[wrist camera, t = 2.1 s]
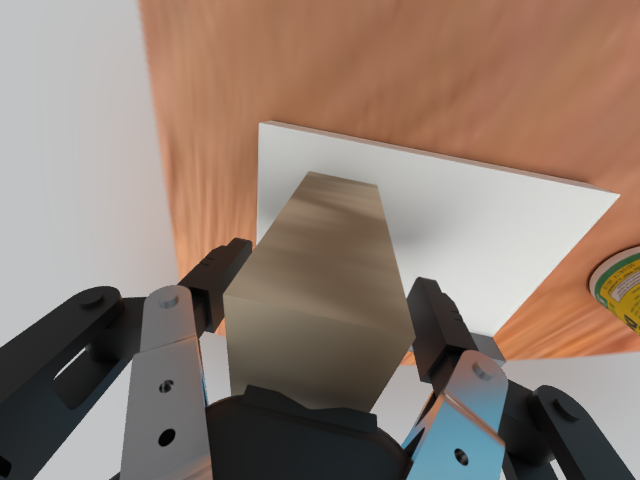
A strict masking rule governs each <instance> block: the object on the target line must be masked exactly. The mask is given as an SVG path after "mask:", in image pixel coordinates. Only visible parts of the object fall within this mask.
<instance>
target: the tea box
mask: <svg viewBox="0 0 640 480" xmlns="http://www.w3.org/2000/svg"><path fill="white" fill-rule="evenodd" d="M223 303H224V315H225V327H226V339H227V350H228V362H229V373H230V386H231V396H235V395H242V394H244V392H245V389H246V387H247V384H248V385H253V386H257V387H261V388H265V389H270V390H274V391H278V392H280V393H282V394H284V395H285V396H287V397H289V398H291V399H292V400H294V401H296V402H298V403H299V404H301V405H303V406H305V407H306V408H308V409H324V408H339V407H346V408H350V409H354V410H359V411H363V412H367V413H369V412H370V411H371V409H372V407H373V406H374V404H375V403H376V401H377V399H378V398H379V396H380V395H381V393H382V391H383V390H384V388H385V387H386V385H387V383H388V382H389V380H390V379H391V377H392V375H393V374H394V372H395V371H396V369H397V367H398V366H399V364H400V363H401V361H402V359H403V358H404V356H405V355H406V353H407V351H408V350H409V348H410V346H411V345H412V343H413V342H414V340H415V338H416V336H415V332H414V328H413V324H412V320H411V316H410V312H409V308H408V304H407V301H406V297H405V293H404V289H403V285H402V281H401V277H400V273H399V269H398V265H397V261H396V257H395V253H394V249H393V245H392V241H391V237H390V234H389V230H388V226H387V222H386V218H385V214H384V210H383V206H382V202H381V198H380V194H379V190H378V186H377V185H374V184H369V183H365V182H360V181H355V180H350V179H345V178H340V177H335V176H330V175H325V174H320V173H316V172H311V171H308V173H307V174H306V176H305V177H304V179H303V180H302V181H301V183H300V184H299V186H298V187H297V189H296V190H295V192H294V193H293V194H292V196H291V197H290V199H289V200H288V202H287V203H286V204H285V206H284V207H283V209H282V210H281V212H280V213H279V215H278V216H277V217H276V219H275V220H274V222H273V223H272V225H271V226H270V227H269V229H268V230H267V232H266V233H265V235H264V236H263V238H262V239H261V240H260V242H259V243H258V245H257V246H256V248H255V249H254V250H253V252H252V253H251V255H250V256H249V258H248V259H247V261H246V262H245V263H244V265H243V266H242V268H241V269H240V271H239V272H238V273H237V275H236V276H235V278H234V279H233V281H232V282H231V284H230V285H229V286H228V288H227V289H226V291H225V292H224V294H223Z"/></svg>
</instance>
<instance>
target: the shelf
mask: <svg viewBox="0 0 640 480" xmlns="http://www.w3.org/2000/svg"><path fill="white" fill-rule="evenodd" d="M308 171H311V172H316V173H320V174H325V175H330V176H335V177H340V178H345V179H350V180H355V181H360V182H365V183H369V184H374V185H377V186H378V190H379V194H380V198H381V202H382V206H383V210H384V214H385V218H386V222H387V226H388V230H389V234H390V237H391V241H392V245H393V249H394V253H395V257H396V261H397V265H398V269H399V273H400V277H401V281H402V285H403V289H404V293H405V297H406V298H407V296H408V294H409V292H410V290H411V288H412V286H413V284H414V282H415V280H416V278H417V277H423V278H428V279H433V280H436V281H437V282H438V285H439V287H440V289H441V291H442V293H446V294H447V295H448V296H449V297H450V298H451V299H452V300H453V301H454V302H455V304H456V306H457V308H458V310H459V314H461V316H462V318H463V322H465V324H466V326H467V328H468V330H469V332H470V334H471V336H472V338H473V340H474V342H475V344H476V346H477V348H478V350H479V352H481V353H483V354H485V355H486V356H488V357H490V358H491V359H492V360H493V361H495V362H496V363H497V364H498V365H499V366H500V367H501V366H503V364H504V363H506V360H505V358H504V357H503V355H502V353H501V351H500V350H499V348H498V346H497V345H496V343H495V341H494V339H493V338H492V337H493V336H494V335H495V333H496V332H497V331H498V330H499V329H500V328H501V327H502V326H503V325H504V324H505V322H506V321H507V320H508V319H509V318H510V317H511V316H512V315H513V314H514V312H515V311H516V310H517V309H518V308H519V307H520V306H521V305H522V304H523V303H524V301H525V300H526V299H527V298H528V297H529V296H530V295H531V294H532V293H533V291H534V290H535V289H536V288H537V287H538V286H539V285H540V284H541V283H542V282H543V280H544V279H545V278H546V277H547V276H548V275H549V274H550V273H551V272H552V271H553V269H554V268H555V267H556V266H557V265H558V264H559V263H560V262H561V261H562V259H563V258H564V257H565V256H566V255H567V254H568V253H569V252H570V251H571V250H572V248H573V247H574V246H575V245H576V244H577V243H578V242H579V241H580V240H581V238H582V237H583V236H584V235H585V234H586V233H587V232H588V231H589V230H590V229H591V227H592V226H593V225H594V224H595V223H596V222H597V221H598V220H599V219H600V218H601V216H602V215H603V214H604V213H605V212H606V211H607V210H608V209H609V208H610V206H611V205H612V204H613V203H614V202H615V201H616V200H617V199H618V198H619V197H620V194H617V193H614V192H612V191H609V190H606V189H603V188H600V187H597V186H594V185H591V184H589V183H584V182H579V181H574V180H569V179H564V178H559V177H554V176H549V175H544V174H539V173H534V172H529V171H524V170H519V169H514V168H509V167H504V166H499V165H494V164H489V163H484V162H479V161H474V160H469V159H464V158H459V157H453V156H448V155H443V154H438V153H433V152H428V151H423V150H418V149H413V148H408V147H403V146H398V145H393V144H388V143H383V142H378V141H373V140H368V139H363V138H358V137H353V136H348V135H343V134H338V133H333V132H328V131H323V130H318V129H312V128H307V127H302V126H297V125H292V124H287V123H282V122H277V121H272V120H269V121H265V122H260V123H259V145H258V194H257V243H256V246H257V245H258V243H259V242H260V240H261V239H262V238H263V236H264V235H265V233H266V232H267V230H268V229H269V227H270V226H271V225H272V223H273V222H274V220H275V219H276V217H277V216H278V215H279V213H280V212H281V210H282V209H283V207H284V206H285V204H286V203H287V202H288V200H289V199H290V197H291V196H292V194H293V193H294V192H295V190H296V189H297V187H298V186H299V184H300V183H301V181H302V180H303V179H304V177H305V176H306V174H307V173H308ZM408 351H411V352H413V347H412V345H411V346H410V348H409V350H408Z"/></svg>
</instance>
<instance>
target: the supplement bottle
mask: <svg viewBox="0 0 640 480" xmlns="http://www.w3.org/2000/svg"><path fill="white" fill-rule="evenodd" d="M589 286H590V292H591V294H592V296H593V297H594V298H595V299H596V300H597V301H598V302H600V303H601V304H602V305H603V306H604V307H606V308H607V309H608V310H609V311H611V312H612V313H613V314H614V315H615V316H617V317H618V318H619V319H620V320H621V321H623V322H624V323H625V324H626V325H628V326H629V327H630V328H631V329H632V330H634V331H635V332H636V333H637V334H638V335H640V246H639V247H635V248H631V249H628V250H625V251H623V252H620V253H618V254H616V255H614V256H612V257H611V258H609V259H608V260H606V261H605V262H604V263H603V264H601V265H600V266H599V267H598V268H597V269H596V271H595V272H594V273H593V275H592V277H591V279H590V283H589Z"/></svg>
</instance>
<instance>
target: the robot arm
mask: <svg viewBox="0 0 640 480" xmlns="http://www.w3.org/2000/svg"><path fill="white" fill-rule="evenodd" d="M251 253H252V242H251V241H250V240H245V239H240V238H234V239H233V240H232V241H231V242H230V243H229V244H228V245H227V246H223V245H222V246H220V247H218V248H216V249H214V250H212V251H211V252H210V253H209V254H208V255H207V256H206V257H205V258H204V259H203V260H202V261H201V262H200V263H199V264H198V265H196V266H195V267H194V268H193V269H192V270H191V271H190V272H189V273H188V274H187V275H186V276H185V277H184V278H183V279H182V280H181V281H180V282H179V283H178V284H177V285H171V286H166V287H162V288H160V289H158V290H156V291H154V292H152V293H151V294H150V295H149V296H148V297H135V298H122V297H121V294H120V292H119V290H118V289H116V288H114V287H110V286H100V287H94V288H91V289H87V290H84V291H82V292H80V293H78V294H76V295H74V296H72V297H71V298H70V299H68V300H67V301H66V302H64V303H63V304H61V305H60V306H58V307H57V308H55V309H54V310H53V311H51V312H50V313H49V314H47V315H46V316H45V317H43V318H41V319H40V320H39V321H37V322H36V323H35V324H33V325H32V326H30V327H29V328H27V329H26V330H25V331H23V332H22V333H21V334H19V335H18V336H16V337H15V338H13V339H12V340H11V341H9V342H8V343H6V344H5V345H4V346H2V347H1V348H0V480H33V479H34V477H35V476H36V475H37V474H38V473H39V471H40V470H41V469H42V468H43V467H44V465H45V464H46V463H47V461H48V460H49V459H50V458H51V457H52V456H53V454H54V453H55V452H56V451H57V449H58V448H59V447H60V446H61V445H62V443H63V442H64V441H65V440H66V438H67V437H68V436H69V435H70V434H71V432H72V431H73V430H74V429H75V428H76V426H77V425H78V424H79V423H80V422H81V420H82V419H83V418H84V417H85V415H86V414H87V413H88V412H89V410H90V409H91V408H92V407H93V406H94V404H95V403H96V402H97V401H98V400H99V398H100V397H101V396H102V395H103V394H104V392H105V391H106V390H107V389H108V387H109V386H110V385H111V384H112V383H113V381H114V380H115V379H116V378H117V377H118V375H119V374H120V373H121V371H122V370H123V369H124V368H125V367H126V366H127V364H128V363H129V362H130V361H131V360H132V358H133V361H132V368H131V377H130V386H129V396H128V405H127V414H126V424H125V433H124V443H123V451H122V461H121V471H120V472H119V473H117V474H116V475H115V476H113V477H112V478H111V479H109V480H499V478H500V473H501V468H502V469H503V472H504V474H505V477H506V480H558V478H557V477H556V474H555V472H554V470H553V468H552V466H551V464H550V461H552V460H554V459H556V460H557V462H558V464H559V466H560V467H561V469H562V471H563V473H564V475H565V477H566V479H567V480H636V479H635V478H634V476H633V475H632V474H631V472H630V471H629V470H628V468H627V467H626V465H625V464H624V462H623V461H622V460H621V458H620V457H619V455H618V454H617V453H616V451H615V450H614V448H613V447H612V446H611V444H610V443H609V441H608V440H607V439H606V437H605V436H604V434H603V433H602V432H601V430H600V429H599V427H598V426H597V425H596V423H595V422H594V421H593V419H592V418H591V416H590V415H589V414H588V413H587V411H586V410H585V409H584V408H583V407H582V406H581V405H580V404H579V403H578V402H576V401H575V400H574V399H573V398H572V397H570V396H569V395H567V394H566V393H564V392H563V391H561V390H559V389H557V388H555V387H552V386H548V385H542V386H540V387H539V388H537V389H536V390H535V391H534V392H533V391H531V390H529V389H527V388H525V387H523V386H521V385H519V384H517V383H515V382H513V381H511V380H509V379H507V377H506V375H505V373H504V372H503V370H502V369H501V368H500V366H499V365H498V364H497V363H496V362H495V361H493V360H492V359H491V358H490V357H488V356H486V355H485V354H483V353H481V352H479V350H478V348H477V346H476V344H475V342H474V340H473V338H472V336H471V334H470V332H469V330H468V328H467V326H466V324H465V322H463V318H462V316H461V314H459V310H458V308H457V306H456V304H455V302H454V301H453V300H452V299H451V298H450V297H449V296H448V295H447V294H446V293H442V291H441V289H440V287H439V285H438V282H437V281H436V280H433V279H428V278H423V277H417V278H416V280H415V282H414V284H413V286H412V288H411V290H410V292H409V294H408V296H407V298H406V301H407V304H408V308H409V312H410V316H411V320H412V324H413V328H414V332H415V336H416V338H415V340H414V342H413V343H412V347H413V352H414V356H415V360H416V364H417V368H418V372H419V377H420V381H422V382H426V383H430V384H432V386H433V391H432V393H431V394H430V396H429V398H428V400H427V402H426V403H425V405H424V407H423V409H422V411H421V413H420V414H419V416H418V418H417V420H416V422H415V424H414V426H413V427H412V429H411V431H410V433H409V434H408V436H407V437H406V439H405V441H404V442H403V443H402V445H401V446H400V445H399V444H398V443H397V442H396V441H395V440H394V439H393V438H392V437H391V436H390V435H389V434H387V433H386V432H385V431H383V430H382V429H381V428H378V427H377V416H376V415H375V414H371V413H367V412H363V411H359V410H354V409H350V408H346V407H339V408H324V409H308V408H306V407H305V406H303V405H301V404H299V403H298V402H296V401H294V400H292V399H291V398H289V397H287V396H285V395H284V394H282V393H280V392H278V391H274V390H270V389H265V388H261V387H257V386H253V385H248V384H247V387H246V389H245V392H244V394H242V395H235V396H230V397H227V398H224V399H221V400H219V401H217V402H214V403H212V404H211V405H209V404H208V398H207V391H206V385H205V378H204V371H203V363H202V356H201V348H200V341H199V338H200V337H201V335H202V334H203V332H204V331H206V332H211V333H214V332H215V331H216V329H217V328H218V326H219V324H220V323H221V321H222V320H223V318H224V317H225V315H224V303H223V294H224V292H225V291H226V289H227V288H228V286H229V285H230V284H231V282H232V281H233V279H234V278H235V276H236V275H237V273H238V272H239V271H240V269H241V268H242V266H243V265H244V263H245V262H246V261H247V259H248V258H249V256H250V255H251ZM84 347H85V349H86V350H85V351H84V352H83V353H82V354H81V355H79V356H78V358H76V359H75V360H74V361H73V362H72V363H71V364H70V365H69V366H68V367H67V368H66V369H65V370H64V371H63V372H62V373H61V374H60V375H58V376H57V377H56V378H55V376H56V375H57V373H58V372H59V371H60V370H61V369H62V368H63V367H64V366H65V365H66V364H67V363H68V362H70V361H71V359H73V358H74V357H75V356H76V355H77V354H78V353H79V352H80V351H81V350H82V349H83V348H84ZM54 378H55V379H54Z"/></svg>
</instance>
